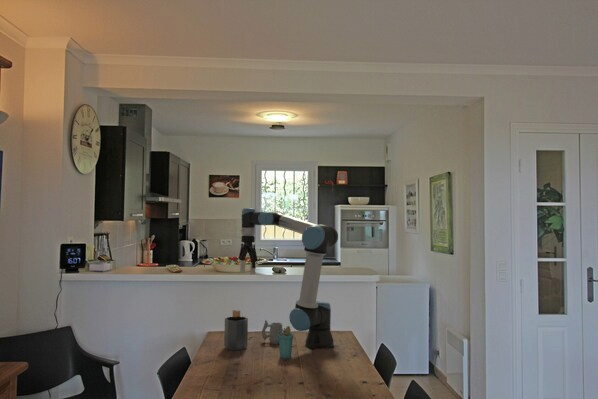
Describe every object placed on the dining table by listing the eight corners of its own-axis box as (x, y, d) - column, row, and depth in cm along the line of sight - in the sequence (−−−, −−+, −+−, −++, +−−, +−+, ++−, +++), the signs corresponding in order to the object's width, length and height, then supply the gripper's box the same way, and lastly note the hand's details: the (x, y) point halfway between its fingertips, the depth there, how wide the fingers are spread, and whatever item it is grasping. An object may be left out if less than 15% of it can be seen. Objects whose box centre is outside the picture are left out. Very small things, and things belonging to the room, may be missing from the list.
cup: (291, 362, 218) (291, 329, 219) (275, 361, 219) (275, 329, 219) (294, 353, 232) (295, 323, 233) (279, 353, 233) (279, 322, 233)
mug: (284, 343, 251) (284, 321, 252) (262, 344, 250) (262, 321, 250) (282, 340, 259) (282, 318, 260) (261, 340, 257) (261, 318, 258)
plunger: (244, 345, 241) (244, 311, 242) (232, 346, 238) (233, 312, 239) (239, 342, 247) (239, 309, 248) (227, 343, 243) (228, 310, 244)
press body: (250, 348, 240) (250, 319, 241) (229, 351, 235) (230, 321, 235) (238, 342, 253) (239, 314, 254) (219, 344, 247) (219, 316, 248)
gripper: (233, 234, 273) (232, 271, 272) (251, 236, 252) (250, 275, 251) (245, 234, 277) (244, 270, 276) (263, 235, 256) (263, 274, 255)
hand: (247, 272), depth 263 cm, fingers open, 13 cm apart
